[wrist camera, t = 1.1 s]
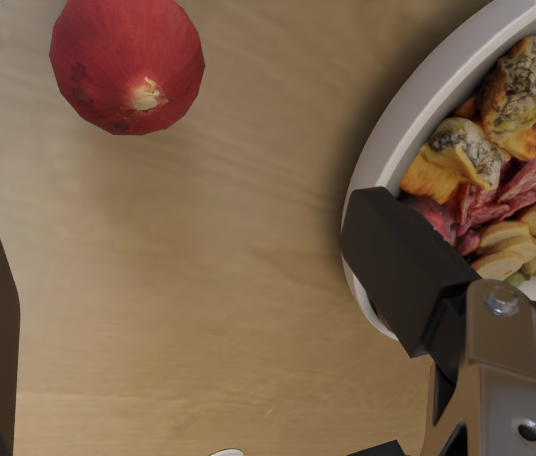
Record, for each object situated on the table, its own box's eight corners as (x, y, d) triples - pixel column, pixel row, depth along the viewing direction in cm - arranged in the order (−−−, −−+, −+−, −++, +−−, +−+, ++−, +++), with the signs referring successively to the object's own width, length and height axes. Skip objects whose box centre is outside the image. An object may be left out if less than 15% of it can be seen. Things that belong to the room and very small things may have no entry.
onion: (140, 113, 25) (169, 203, 19) (25, 49, 21) (18, 135, 16) (206, 15, 23) (260, 82, 17) (92, -73, 20) (112, -25, 14)
